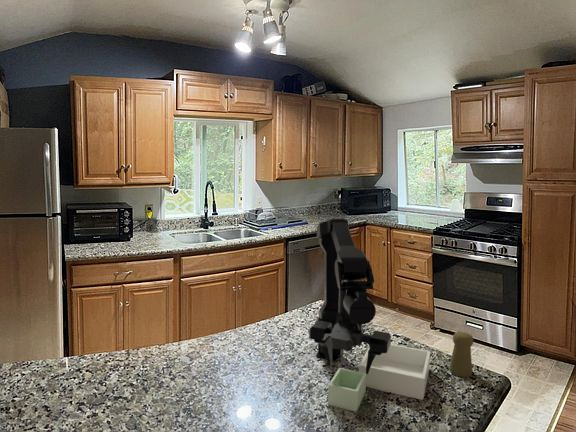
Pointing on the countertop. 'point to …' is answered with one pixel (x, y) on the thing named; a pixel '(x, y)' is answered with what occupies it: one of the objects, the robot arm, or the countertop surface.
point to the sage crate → (347, 389)
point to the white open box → (398, 371)
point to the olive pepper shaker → (461, 355)
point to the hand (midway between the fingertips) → (348, 369)
